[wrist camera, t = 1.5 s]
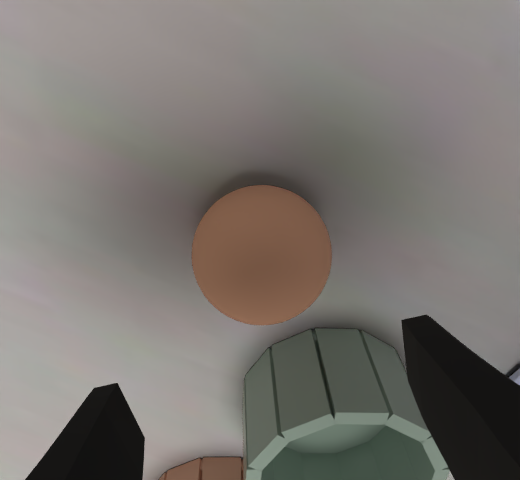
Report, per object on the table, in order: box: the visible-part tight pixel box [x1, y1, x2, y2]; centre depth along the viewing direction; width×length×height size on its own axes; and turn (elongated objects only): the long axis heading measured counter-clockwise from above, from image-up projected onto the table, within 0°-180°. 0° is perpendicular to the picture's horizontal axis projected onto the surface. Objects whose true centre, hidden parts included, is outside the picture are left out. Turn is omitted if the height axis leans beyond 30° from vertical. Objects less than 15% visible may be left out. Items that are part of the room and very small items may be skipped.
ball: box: [192, 185, 332, 325], centre depth 17 cm, size 5×5×5 cm
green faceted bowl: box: [242, 328, 450, 480], centre depth 22 cm, size 8×8×5 cm
